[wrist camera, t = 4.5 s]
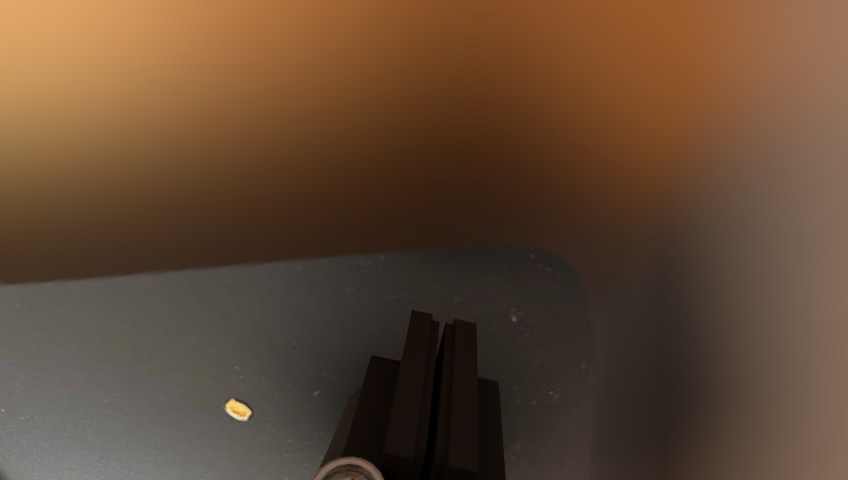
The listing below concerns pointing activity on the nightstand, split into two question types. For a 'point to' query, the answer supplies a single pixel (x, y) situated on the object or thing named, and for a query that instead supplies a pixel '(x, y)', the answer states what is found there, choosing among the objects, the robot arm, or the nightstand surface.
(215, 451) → the nightstand surface
